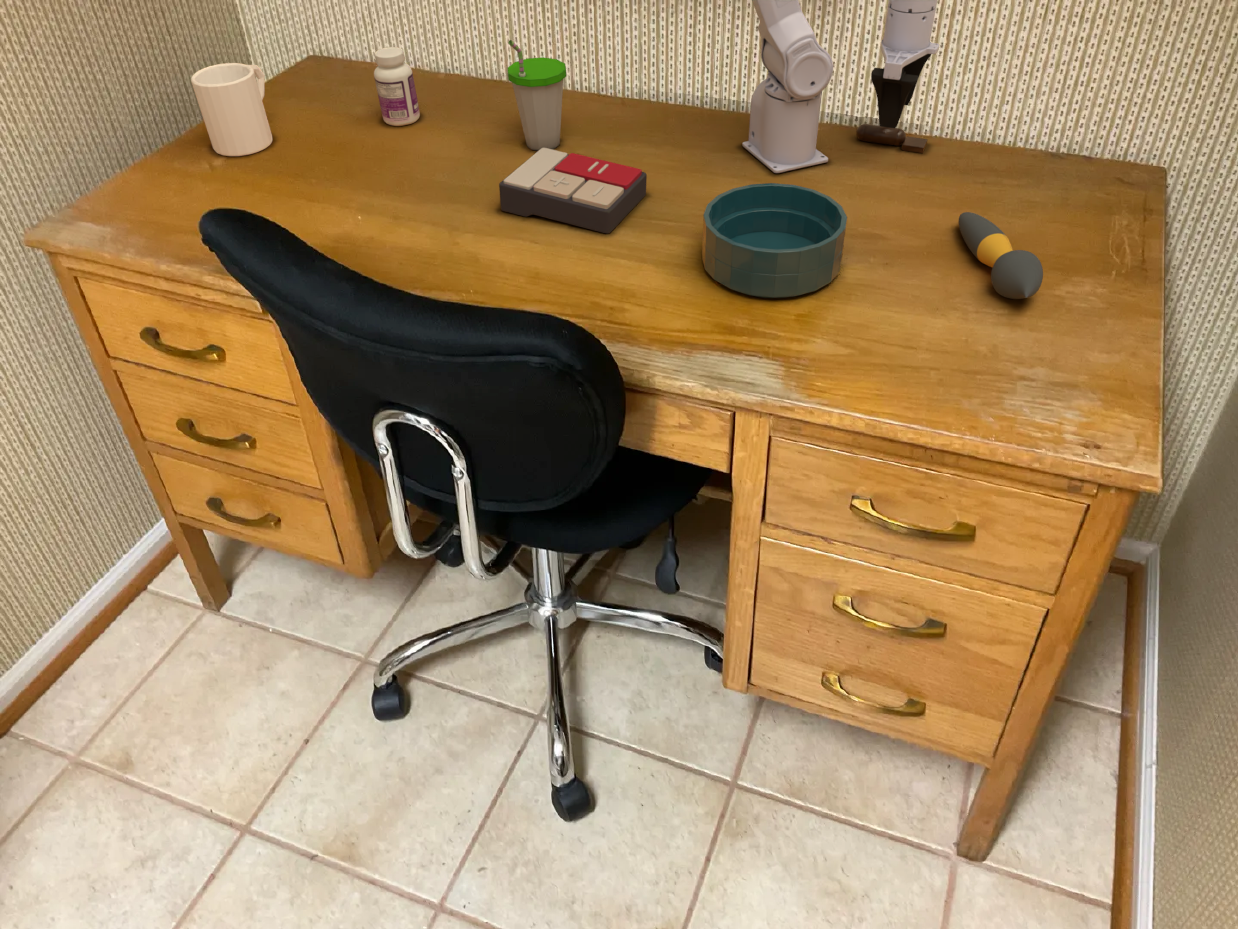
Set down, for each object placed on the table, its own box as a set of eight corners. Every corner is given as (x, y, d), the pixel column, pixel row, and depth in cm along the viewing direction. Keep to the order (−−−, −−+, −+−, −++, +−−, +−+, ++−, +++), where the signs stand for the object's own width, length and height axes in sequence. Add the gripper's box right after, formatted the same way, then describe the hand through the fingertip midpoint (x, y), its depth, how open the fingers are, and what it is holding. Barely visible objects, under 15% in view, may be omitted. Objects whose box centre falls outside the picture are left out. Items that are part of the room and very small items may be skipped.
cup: (562, 128, 137) (554, 17, 127) (578, 150, 132) (571, 36, 122) (509, 137, 136) (496, 25, 125) (522, 160, 130) (510, 45, 120)
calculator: (609, 206, 112) (496, 178, 117) (609, 239, 115) (499, 210, 120) (648, 166, 119) (541, 141, 124) (647, 198, 122) (542, 172, 127)
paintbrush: (930, 228, 113) (938, 188, 110) (970, 223, 114) (979, 183, 111) (1009, 322, 99) (1021, 280, 96) (1055, 316, 100) (1069, 274, 96)
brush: (852, 142, 131) (854, 127, 129) (857, 134, 133) (860, 118, 131) (922, 153, 128) (925, 137, 126) (926, 144, 130) (929, 128, 128)
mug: (299, 124, 141) (281, 55, 134) (250, 159, 133) (229, 87, 126) (252, 118, 143) (232, 50, 136) (201, 152, 135) (178, 81, 128)
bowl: (680, 247, 112) (681, 199, 108) (796, 220, 116) (801, 172, 112) (741, 315, 101) (744, 264, 97) (866, 282, 105) (874, 232, 101)
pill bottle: (402, 108, 144) (389, 41, 138) (427, 116, 142) (416, 48, 135) (375, 121, 141) (361, 53, 134) (401, 129, 139) (388, 61, 132)
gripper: (934, 28, 112) (914, 141, 122) (955, -10, 122) (935, 97, 131) (873, 22, 115) (858, 133, 124) (899, -15, 124) (883, 91, 134)
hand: (894, 114), depth 128 cm, fingers open, 7 cm apart
